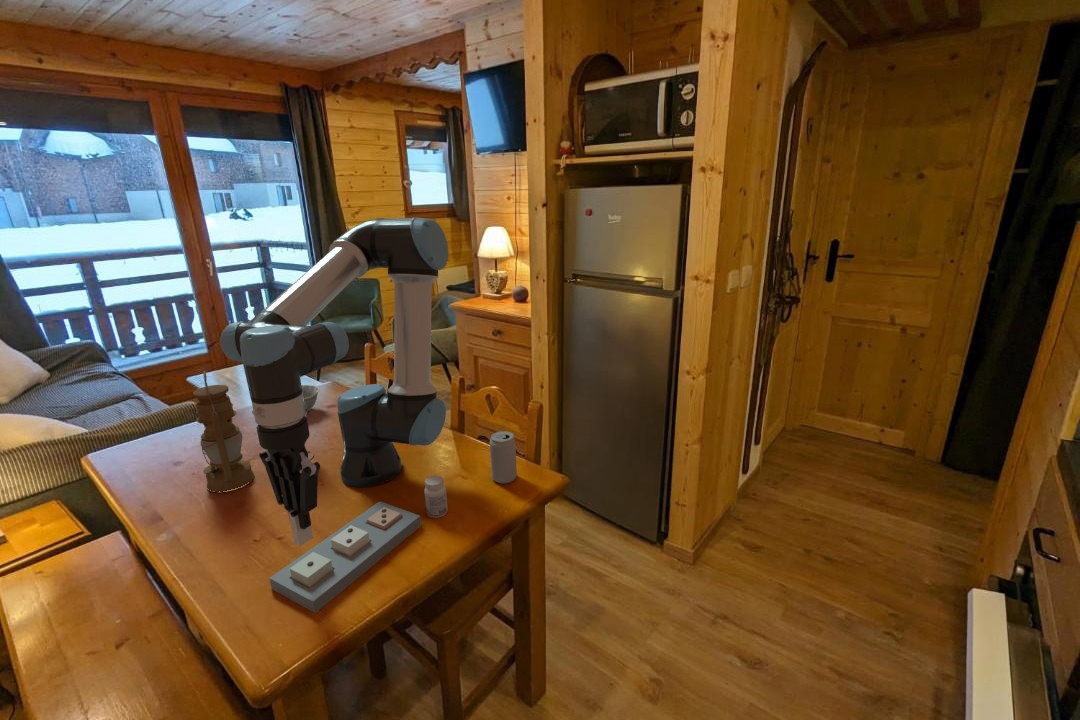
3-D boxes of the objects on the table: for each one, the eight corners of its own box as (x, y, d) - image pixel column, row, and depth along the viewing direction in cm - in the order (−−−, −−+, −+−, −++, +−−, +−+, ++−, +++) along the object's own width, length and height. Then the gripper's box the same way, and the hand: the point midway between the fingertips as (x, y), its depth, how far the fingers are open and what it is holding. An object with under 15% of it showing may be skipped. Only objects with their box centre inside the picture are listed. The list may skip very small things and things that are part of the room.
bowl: (259, 422, 161) (255, 401, 158) (290, 403, 176) (287, 383, 173) (304, 425, 158) (300, 403, 156) (331, 405, 173) (328, 385, 171)
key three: (385, 537, 103) (383, 525, 102) (368, 530, 106) (366, 518, 105) (402, 523, 107) (400, 512, 107) (385, 517, 110) (383, 506, 109)
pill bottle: (428, 506, 114) (424, 474, 112) (448, 505, 115) (446, 473, 112) (425, 519, 110) (421, 486, 107) (447, 517, 110) (444, 485, 108)
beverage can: (513, 486, 122) (511, 442, 118) (488, 484, 123) (485, 440, 119) (519, 473, 128) (518, 431, 124) (495, 470, 129) (493, 429, 125)
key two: (350, 558, 95) (348, 546, 95) (332, 550, 98) (330, 538, 97) (370, 543, 100) (368, 531, 99) (352, 536, 102) (350, 524, 101)
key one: (310, 589, 88) (307, 576, 87) (292, 580, 90) (289, 567, 89) (333, 572, 92) (330, 559, 91) (315, 563, 94) (313, 550, 93)
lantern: (196, 481, 127) (167, 371, 118) (239, 464, 135) (215, 360, 125) (221, 501, 118) (191, 384, 109) (265, 482, 126) (241, 371, 117)
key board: (315, 613, 85) (312, 601, 84) (271, 589, 91) (269, 578, 90) (421, 525, 108) (419, 515, 107) (381, 510, 113) (379, 501, 112)
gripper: (235, 421, 81) (261, 542, 88) (286, 436, 75) (309, 565, 82) (277, 405, 87) (298, 519, 94) (327, 418, 81) (346, 539, 88)
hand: (303, 540), depth 88 cm, fingers closed
